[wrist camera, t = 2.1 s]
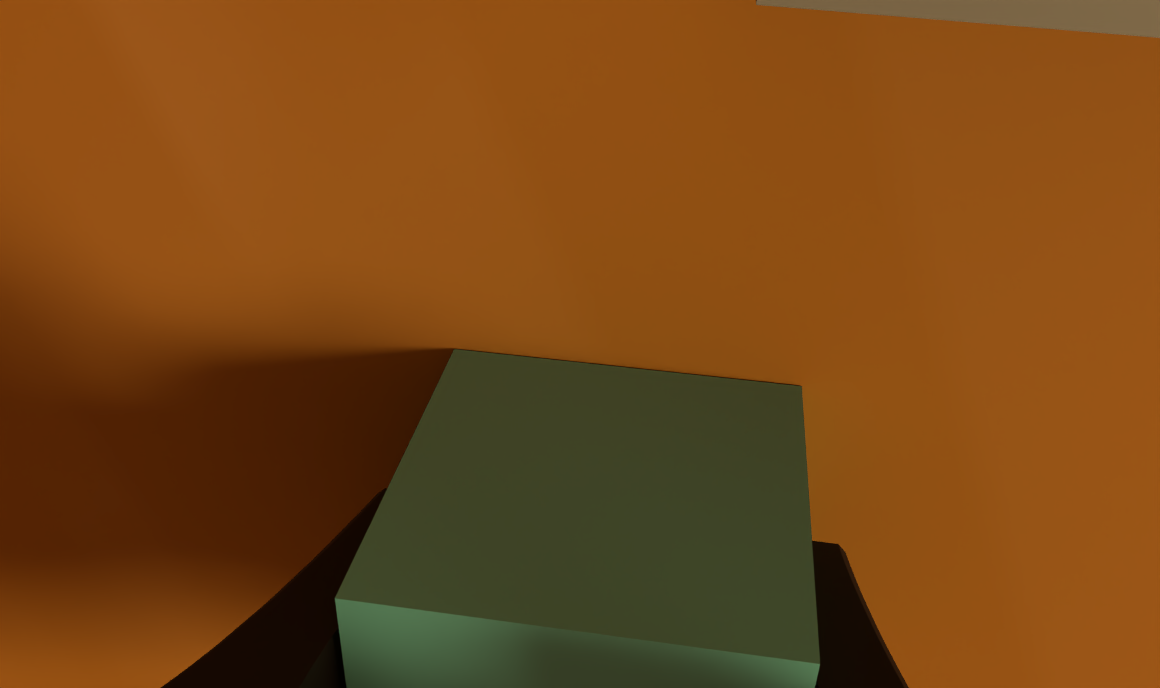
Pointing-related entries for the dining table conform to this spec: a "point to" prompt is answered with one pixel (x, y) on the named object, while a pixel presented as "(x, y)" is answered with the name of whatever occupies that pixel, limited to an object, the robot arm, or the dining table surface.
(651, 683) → the teal cube
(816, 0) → the beige square block
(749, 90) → the dining table surface
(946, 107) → the dining table surface
